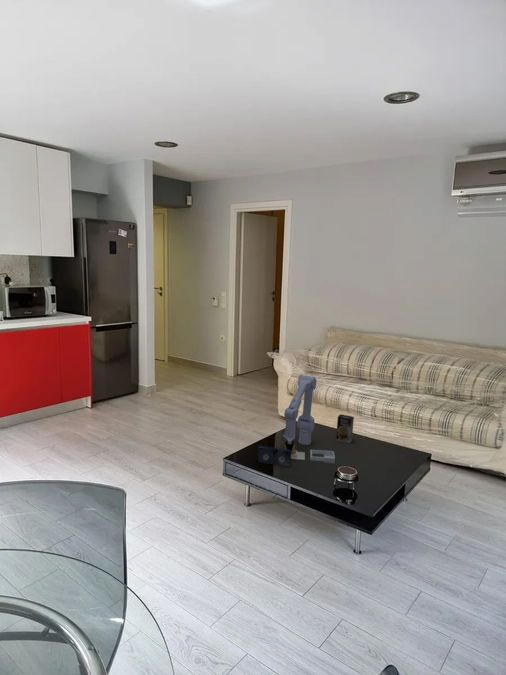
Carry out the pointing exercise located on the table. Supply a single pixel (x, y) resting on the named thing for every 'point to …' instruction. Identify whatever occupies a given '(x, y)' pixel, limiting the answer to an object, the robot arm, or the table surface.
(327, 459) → the parts tray
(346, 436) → the coffee box
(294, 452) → the block
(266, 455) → the vhs cassette tape
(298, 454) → the box
